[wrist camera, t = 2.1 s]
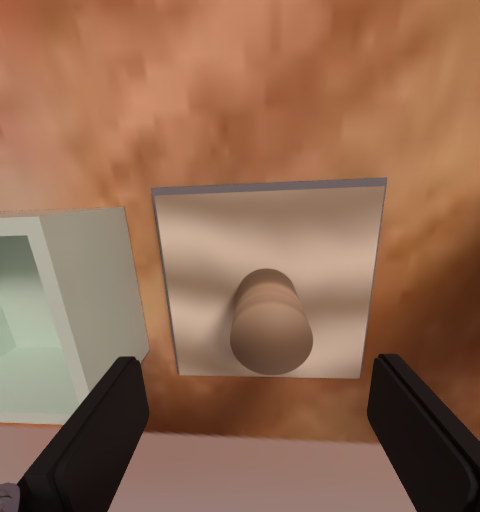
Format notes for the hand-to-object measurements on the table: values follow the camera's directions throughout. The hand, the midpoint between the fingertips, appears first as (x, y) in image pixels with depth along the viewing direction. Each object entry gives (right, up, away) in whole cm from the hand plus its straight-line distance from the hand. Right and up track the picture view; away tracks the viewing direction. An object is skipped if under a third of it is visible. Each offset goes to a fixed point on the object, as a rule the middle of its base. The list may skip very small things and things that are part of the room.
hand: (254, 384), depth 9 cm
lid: (+1, +3, +7) cm, 8 cm away
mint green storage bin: (-15, +3, +9) cm, 17 cm away
